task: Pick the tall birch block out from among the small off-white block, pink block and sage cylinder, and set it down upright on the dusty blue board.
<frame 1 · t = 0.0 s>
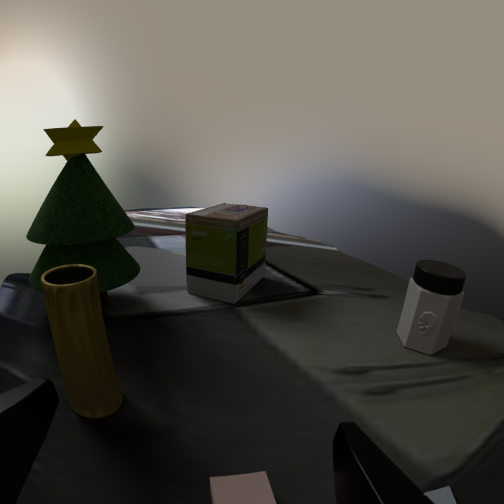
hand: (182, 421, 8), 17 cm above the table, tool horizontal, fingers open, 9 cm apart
jar: (420, 341, 42), on the table
tea box: (227, 286, 60), on the table
decorative tree: (88, 306, 46), on the table
vase: (96, 401, 27), on the table
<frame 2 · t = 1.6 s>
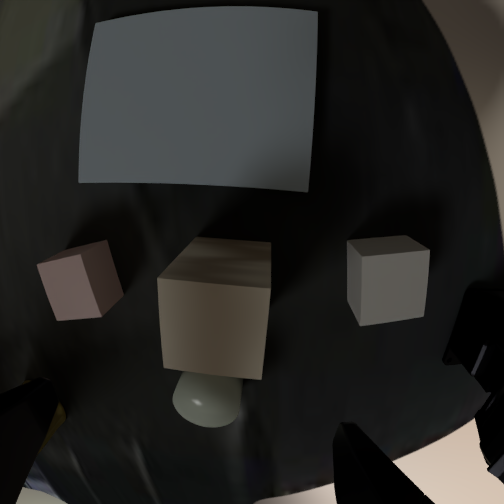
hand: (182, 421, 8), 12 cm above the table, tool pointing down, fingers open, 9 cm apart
sage cylinder: (213, 374, 22), on the table
birch block: (231, 274, 19), on the table
pink block: (93, 271, 20), on the table
blue board: (191, 91, 16), on the table
off-white block: (376, 267, 19), on the table
vase: (45, 400, 25), on the table
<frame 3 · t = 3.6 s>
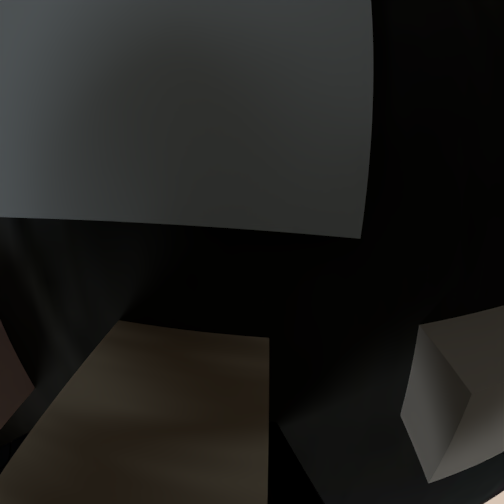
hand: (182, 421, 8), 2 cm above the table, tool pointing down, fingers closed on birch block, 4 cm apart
birch block: (192, 388, 9), on the table, touching gripper
blue board: (102, 25, 6), on the table
off-white block: (455, 361, 9), on the table
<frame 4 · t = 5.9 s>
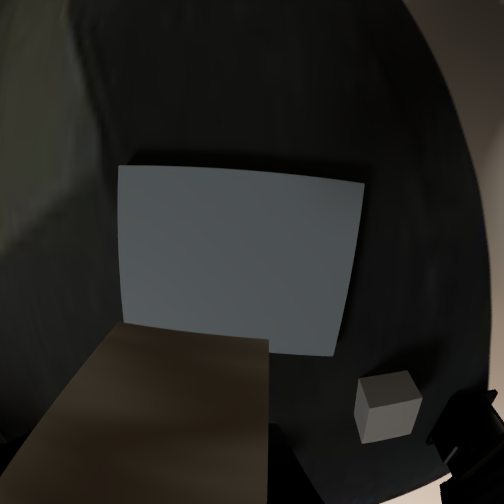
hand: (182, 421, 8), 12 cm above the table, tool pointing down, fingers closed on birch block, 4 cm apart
birch block: (192, 389, 9), point 10 cm above the table, touching gripper
blue board: (232, 262, 19), on the table
off-white block: (379, 392, 21), on the table
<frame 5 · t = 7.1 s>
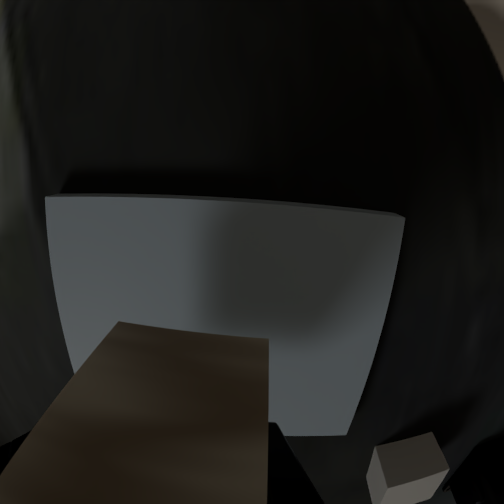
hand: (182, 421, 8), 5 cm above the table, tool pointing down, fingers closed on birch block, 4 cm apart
birch block: (192, 389, 9), point 4 cm above the table, touching gripper
blue board: (209, 328, 13), on the table
off-white block: (398, 455, 16), on the table
when the fingers open (3 cm above the table, at t = 8.2 s): birch block stays where it is, resting on blue board.
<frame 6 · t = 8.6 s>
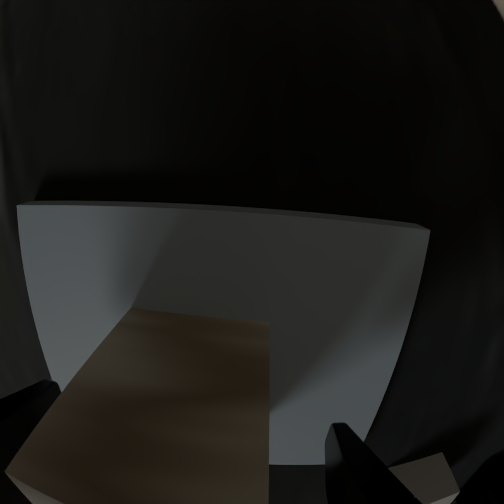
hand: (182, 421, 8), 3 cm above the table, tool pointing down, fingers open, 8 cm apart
birch block: (198, 371, 10), point 1 cm above the table, touching blue board
blue board: (202, 354, 11), on the table
off-white block: (405, 475, 14), on the table
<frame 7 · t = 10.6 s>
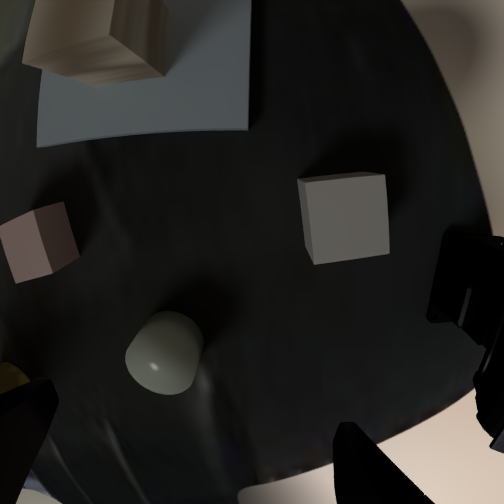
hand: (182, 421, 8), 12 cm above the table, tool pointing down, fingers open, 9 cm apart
sage cylinder: (172, 338, 21), on the table
birch block: (131, 47, 14), point 1 cm above the table, touching blue board
pink block: (52, 235, 19), on the table
blue board: (136, 52, 15), on the table
off-white block: (334, 208, 18), on the table
vase: (20, 383, 24), on the table
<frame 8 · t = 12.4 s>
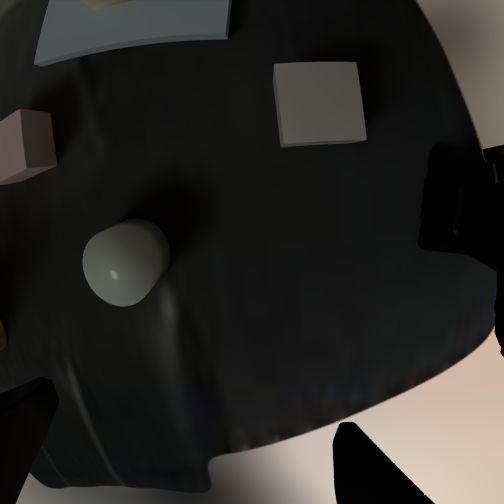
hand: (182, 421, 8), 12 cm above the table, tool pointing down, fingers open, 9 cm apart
sage cylinder: (138, 251, 19), on the table
pink block: (35, 147, 17), on the table
off-white block: (311, 111, 16), on the table
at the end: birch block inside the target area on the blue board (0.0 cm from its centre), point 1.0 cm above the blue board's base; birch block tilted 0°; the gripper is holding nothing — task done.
